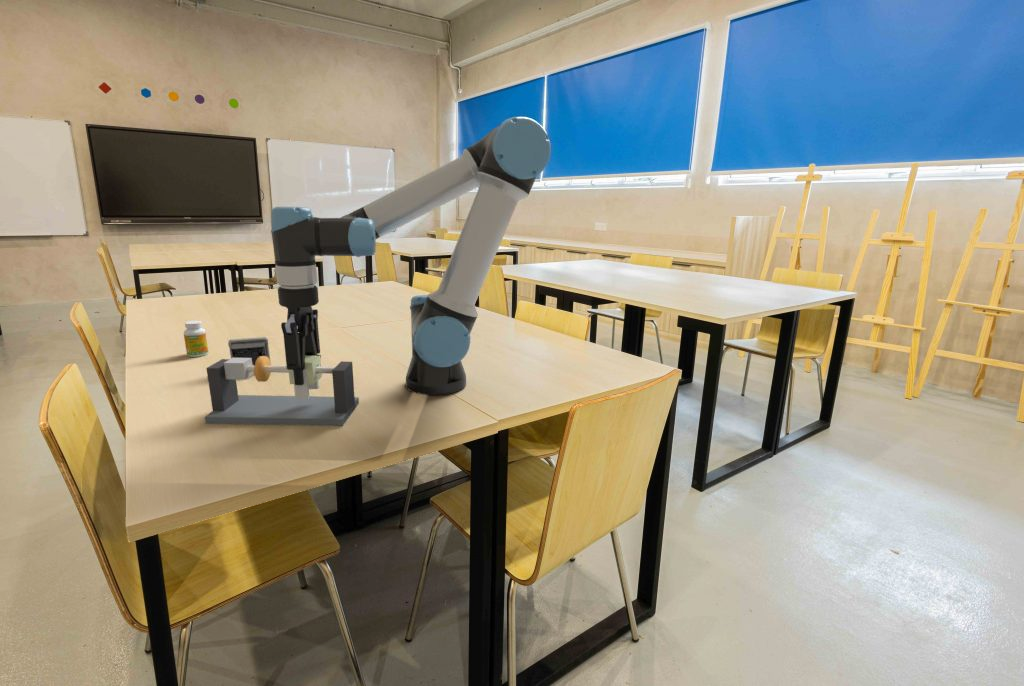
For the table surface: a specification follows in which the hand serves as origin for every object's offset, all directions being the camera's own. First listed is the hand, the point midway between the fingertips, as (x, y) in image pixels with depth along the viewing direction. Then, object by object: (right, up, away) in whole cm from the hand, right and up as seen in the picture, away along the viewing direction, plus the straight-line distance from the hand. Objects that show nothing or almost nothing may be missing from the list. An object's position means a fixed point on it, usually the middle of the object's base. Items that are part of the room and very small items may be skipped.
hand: (307, 392), depth 109 cm
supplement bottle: (-48, +7, +39) cm, 62 cm away
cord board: (-5, -4, +1) cm, 7 cm away
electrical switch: (-25, +3, +27) cm, 37 cm away
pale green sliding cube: (0, +3, -1) cm, 3 cm away
